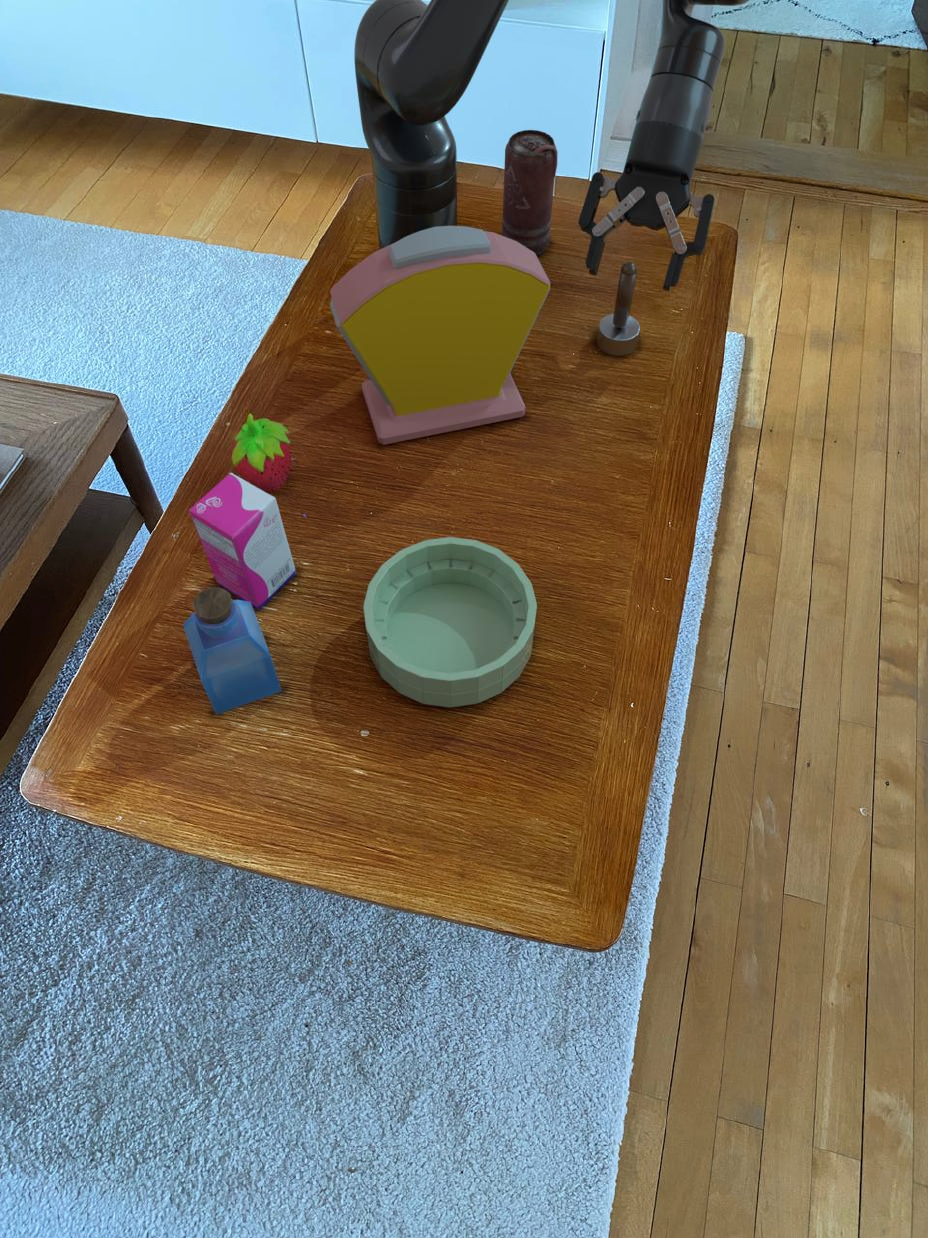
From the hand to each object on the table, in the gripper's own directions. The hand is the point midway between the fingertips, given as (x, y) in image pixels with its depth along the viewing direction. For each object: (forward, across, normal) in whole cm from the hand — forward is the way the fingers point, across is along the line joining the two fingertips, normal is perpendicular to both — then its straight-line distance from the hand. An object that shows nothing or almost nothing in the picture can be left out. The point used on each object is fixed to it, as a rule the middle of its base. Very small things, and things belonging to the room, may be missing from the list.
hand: (628, 281), depth 110 cm
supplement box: (+39, +25, +28) cm, 54 cm away
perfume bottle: (+46, +22, +35) cm, 62 cm away
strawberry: (+31, +29, +20) cm, 47 cm away
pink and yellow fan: (+18, +16, +7) cm, 25 cm away
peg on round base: (+6, 0, -5) cm, 8 cm away
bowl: (+39, +4, +28) cm, 48 cm away
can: (-4, +16, -15) cm, 22 cm away
